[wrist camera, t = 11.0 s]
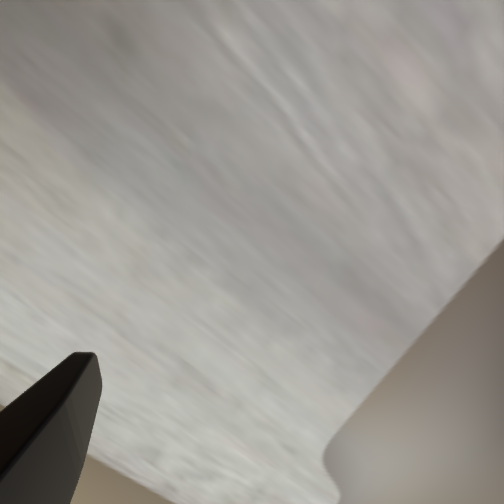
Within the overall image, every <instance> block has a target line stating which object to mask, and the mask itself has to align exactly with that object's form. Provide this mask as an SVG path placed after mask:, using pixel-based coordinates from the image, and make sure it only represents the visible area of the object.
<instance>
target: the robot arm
mask: <svg viewBox="0 0 504 504" xmlns="http://www.w3.org/2000/svg"><path fill="white" fill-rule="evenodd" d="M101 392H102V378H101V373H100V368H99V363H98V359H97V356H96V354H95V353H93V352H74V353H72V354H71V355H69V356H68V357H67V358H66V359H64V360H63V361H62V362H61V363H60V364H58V365H57V366H56V367H55V368H53V369H52V370H51V371H50V372H48V373H47V374H46V375H45V376H43V377H42V378H41V379H40V380H39V381H37V382H36V383H35V384H34V385H32V386H31V387H30V388H29V389H27V390H26V391H25V392H24V393H22V394H21V395H20V396H19V397H17V398H16V399H15V400H14V401H13V402H11V403H10V404H9V405H8V406H6V407H5V408H4V409H3V410H2V411H0V504H70V502H71V499H72V497H73V494H74V491H75V489H76V486H77V483H78V480H79V477H80V474H81V471H82V468H83V465H84V461H85V457H86V454H87V450H88V445H89V441H90V437H91V433H92V429H93V425H94V421H95V417H96V413H97V409H98V405H99V401H100V397H101Z"/></svg>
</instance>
